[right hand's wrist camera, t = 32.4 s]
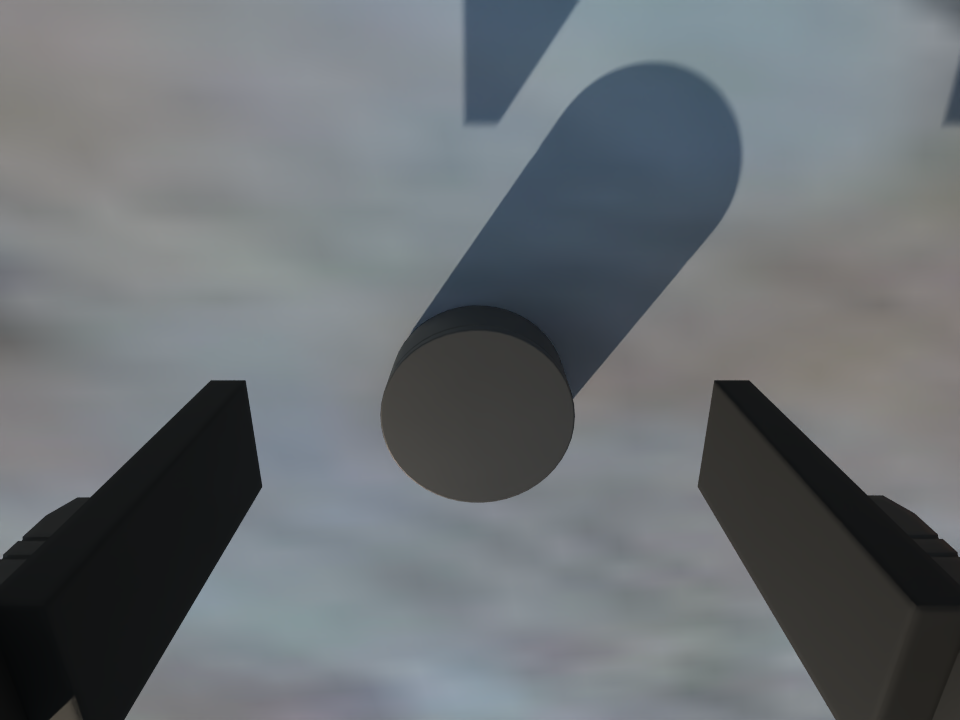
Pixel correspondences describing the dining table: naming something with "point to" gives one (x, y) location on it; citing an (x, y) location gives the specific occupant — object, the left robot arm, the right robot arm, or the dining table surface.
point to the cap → (477, 405)
